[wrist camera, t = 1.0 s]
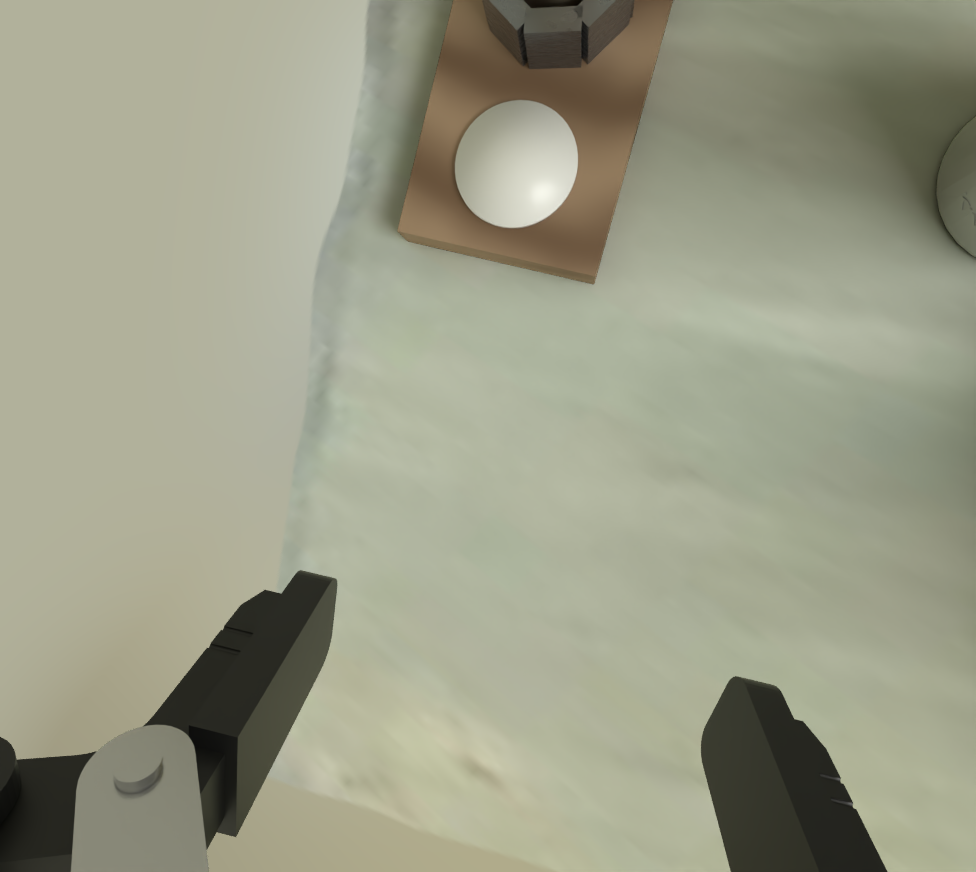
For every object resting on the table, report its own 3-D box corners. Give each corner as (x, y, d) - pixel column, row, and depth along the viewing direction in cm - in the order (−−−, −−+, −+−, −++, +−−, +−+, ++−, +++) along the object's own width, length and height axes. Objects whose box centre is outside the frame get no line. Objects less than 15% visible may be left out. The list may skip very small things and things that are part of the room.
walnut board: (489, -91, 33) (483, -124, 31) (691, -65, 31) (698, -98, 29) (407, 241, 35) (397, 231, 33) (594, 284, 33) (594, 276, 31)
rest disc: (522, 76, 31) (521, 73, 31) (604, 166, 30) (604, 163, 30) (432, 166, 32) (430, 164, 32) (509, 254, 31) (508, 252, 31)
